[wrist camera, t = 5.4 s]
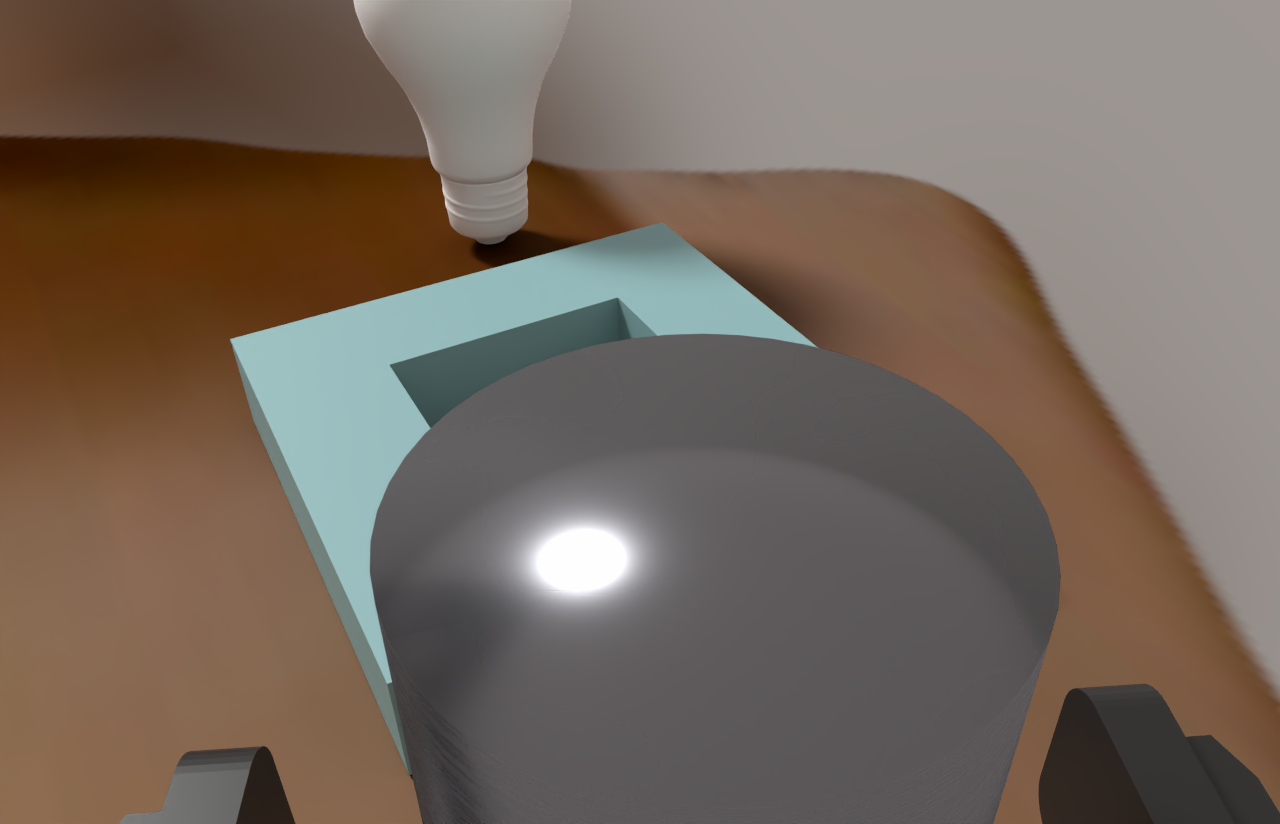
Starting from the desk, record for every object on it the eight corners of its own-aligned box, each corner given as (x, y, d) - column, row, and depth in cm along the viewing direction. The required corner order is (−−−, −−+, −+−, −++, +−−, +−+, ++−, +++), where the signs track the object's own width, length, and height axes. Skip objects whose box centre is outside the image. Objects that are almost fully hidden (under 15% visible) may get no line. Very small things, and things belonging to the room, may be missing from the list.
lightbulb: (621, 252, 35) (608, -127, 28) (443, 309, 32) (384, -94, 26) (531, 183, 39) (502, -162, 33) (367, 228, 37) (300, -136, 30)
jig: (409, 775, 20) (387, 684, 18) (253, 421, 28) (230, 339, 27) (933, 543, 24) (950, 454, 23) (662, 298, 33) (662, 222, 31)
